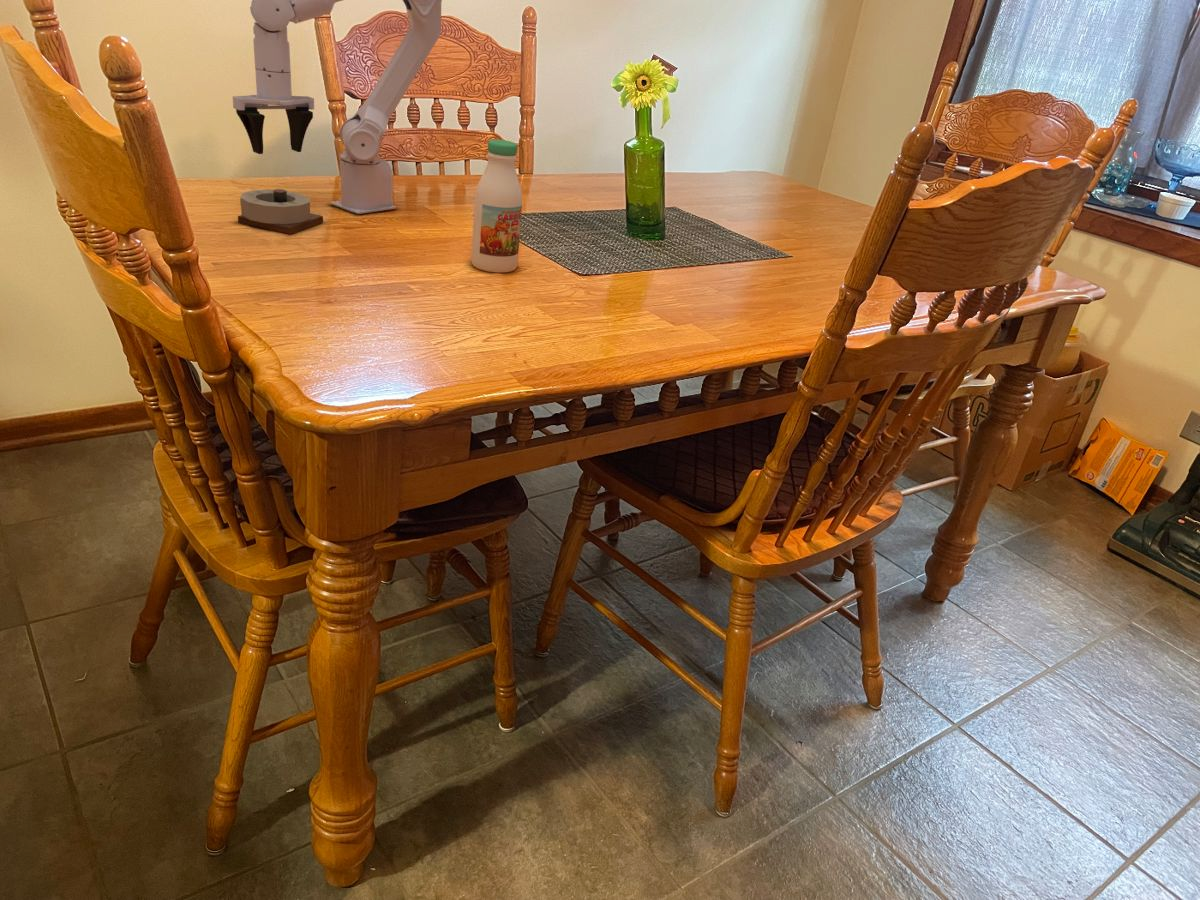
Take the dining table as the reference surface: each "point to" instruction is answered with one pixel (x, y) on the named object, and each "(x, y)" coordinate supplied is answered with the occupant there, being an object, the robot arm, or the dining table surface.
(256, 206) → the tape roll
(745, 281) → the dining table surface
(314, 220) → the stand
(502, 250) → the milk bottle
